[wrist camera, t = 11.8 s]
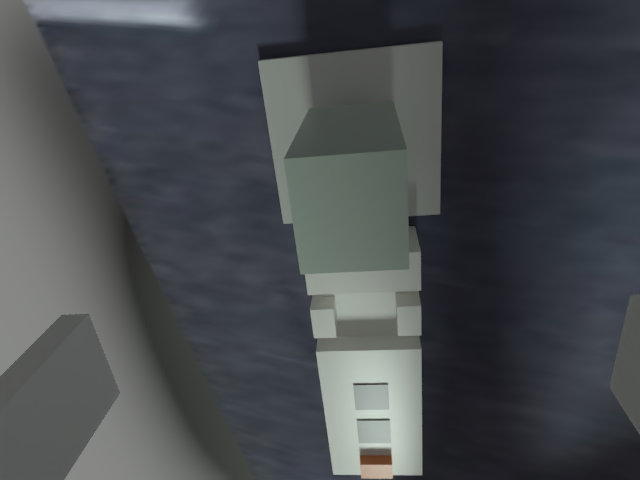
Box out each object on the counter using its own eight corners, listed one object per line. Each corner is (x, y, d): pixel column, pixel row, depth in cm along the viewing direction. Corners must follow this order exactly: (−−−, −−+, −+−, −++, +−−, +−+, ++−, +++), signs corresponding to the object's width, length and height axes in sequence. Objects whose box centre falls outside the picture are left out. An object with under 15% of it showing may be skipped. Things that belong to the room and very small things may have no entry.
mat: (438, 210, 29) (440, 214, 29) (284, 219, 30) (283, 223, 30) (440, 40, 25) (442, 41, 24) (259, 59, 26) (257, 60, 25)
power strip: (417, 437, 39) (423, 484, 35) (335, 437, 40) (332, 483, 36) (415, 225, 30) (422, 258, 26) (308, 231, 31) (301, 264, 27)
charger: (394, 179, 28) (409, 269, 19) (321, 184, 28) (300, 274, 19) (391, 95, 26) (407, 149, 16) (312, 102, 26) (283, 158, 17)
